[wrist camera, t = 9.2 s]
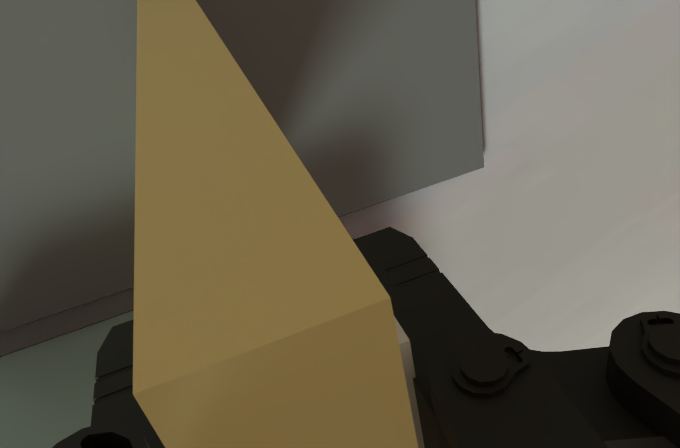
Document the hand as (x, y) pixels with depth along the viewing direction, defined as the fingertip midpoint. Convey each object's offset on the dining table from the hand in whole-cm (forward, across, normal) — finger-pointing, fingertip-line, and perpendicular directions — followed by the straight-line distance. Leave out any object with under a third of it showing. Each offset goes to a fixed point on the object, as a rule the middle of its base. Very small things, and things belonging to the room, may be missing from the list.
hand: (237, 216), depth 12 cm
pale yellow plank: (+7, 0, 0) cm, 7 cm away
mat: (+9, 0, 0) cm, 9 cm away
